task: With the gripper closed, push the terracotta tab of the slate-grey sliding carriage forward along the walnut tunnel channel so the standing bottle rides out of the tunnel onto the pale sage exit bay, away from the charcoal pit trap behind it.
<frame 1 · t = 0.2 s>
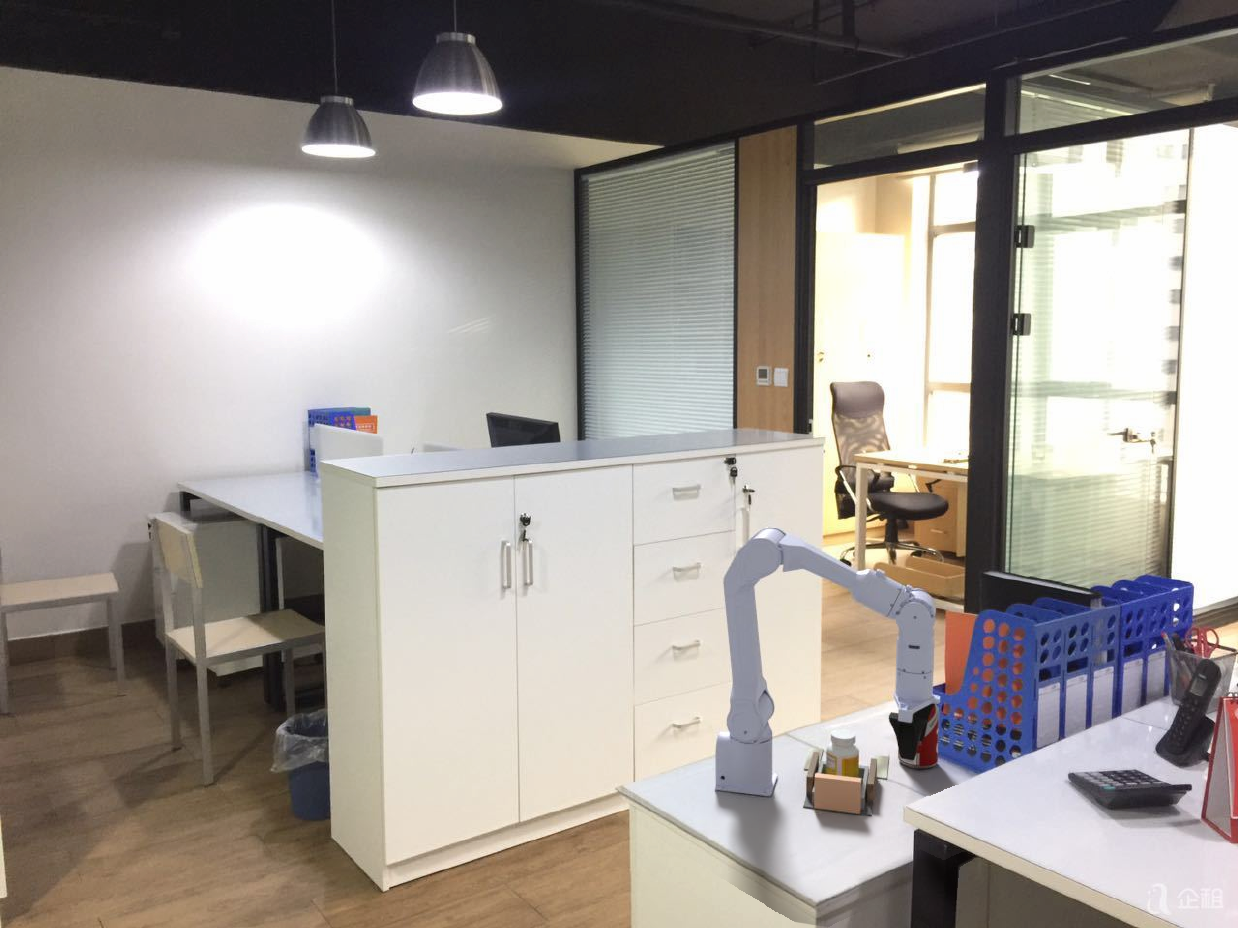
hand: (912, 749, 163), 10 cm above the table, fingers open, 7 cm apart
supplement bottle: (841, 788, 172), resting in carriage
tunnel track: (840, 794, 169), on the table
carriage: (841, 776, 169), point 3 cm above the table, slide at 0.0 cm
soda can: (917, 763, 181), on the table
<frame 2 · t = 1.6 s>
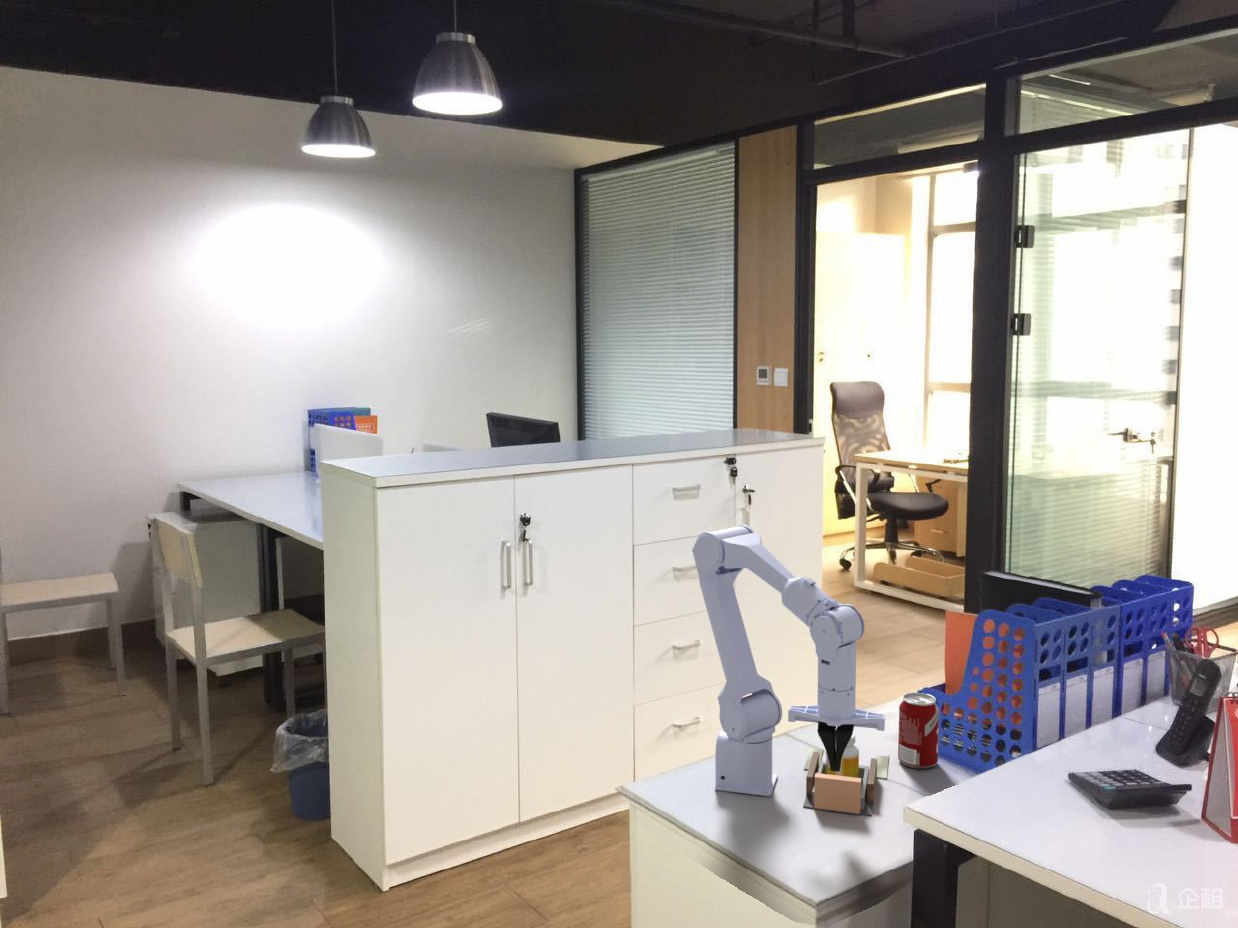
hand: (835, 768, 158), 9 cm above the table, fingers closed
nothing on the table moved.
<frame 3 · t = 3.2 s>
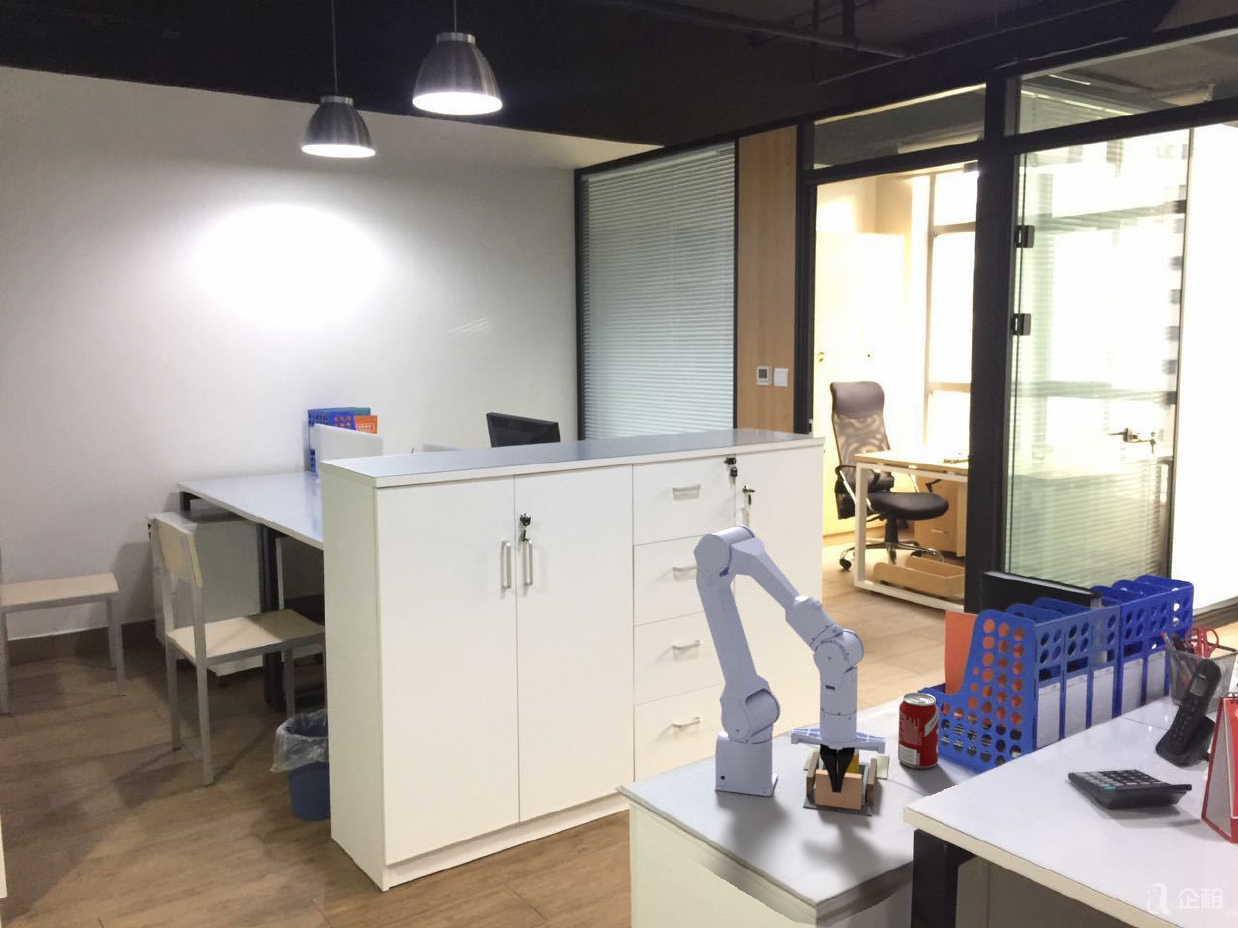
hand: (837, 789, 163), 4 cm above the table, fingers closed, pressing on carriage
supplement bottle: (842, 787, 172), resting in carriage
carriage: (841, 773, 170), point 3 cm above the table, slide at 1.4 cm, touching supplement bottle, gripper
everything else where it was.
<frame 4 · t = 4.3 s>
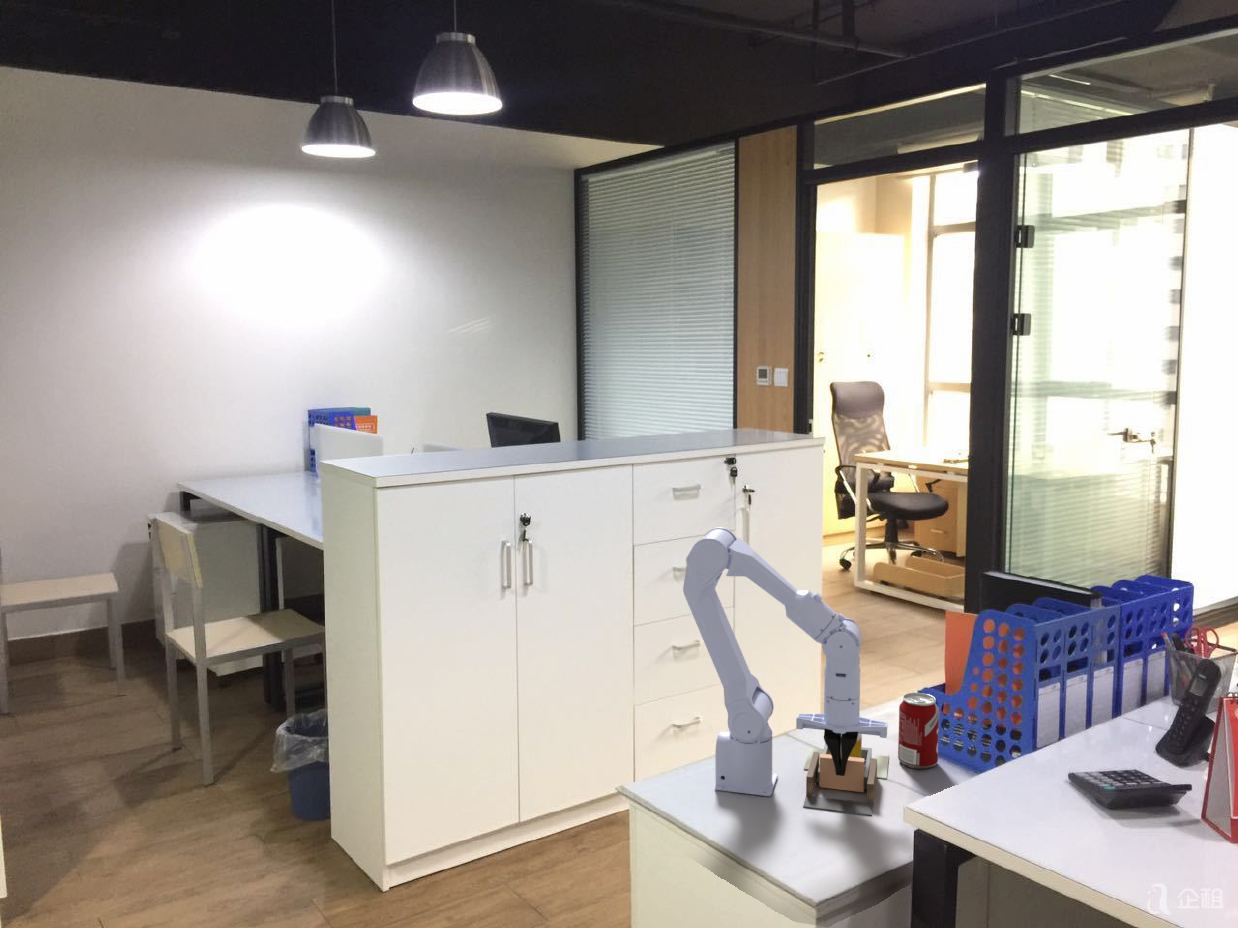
hand: (840, 772, 168), 4 cm above the table, fingers closed, pressing on carriage
supplement bottle: (845, 771, 178), resting in carriage
carriage: (845, 757, 176), point 3 cm above the table, slide at 7.7 cm, touching supplement bottle, gripper
everything else where it was.
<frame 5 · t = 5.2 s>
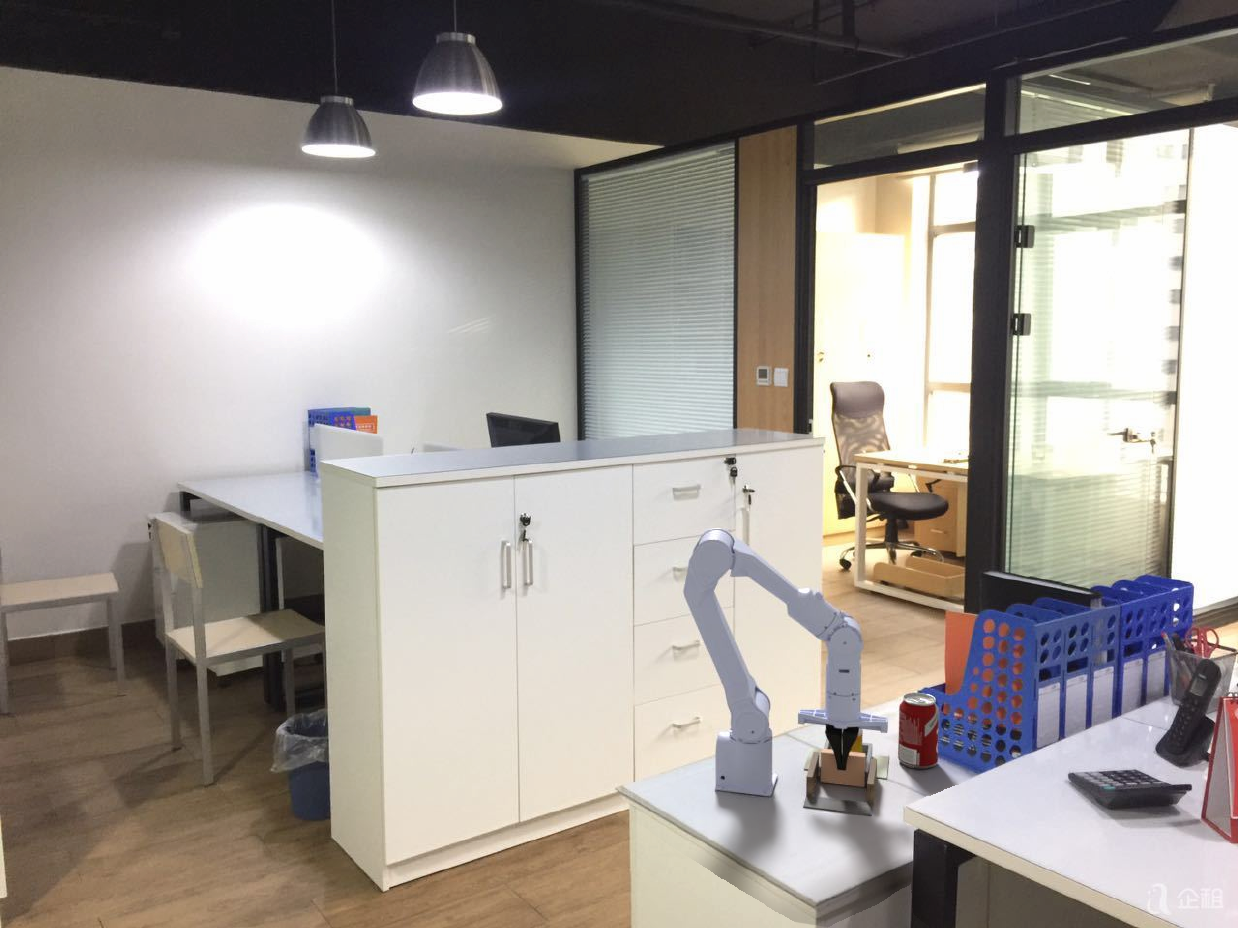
hand: (841, 767, 170), 4 cm above the table, fingers closed, pressing on carriage
supplement bottle: (846, 766, 180), resting in carriage
carriage: (846, 752, 178), point 3 cm above the table, slide at 9.7 cm, touching supplement bottle, gripper
everything else where it was.
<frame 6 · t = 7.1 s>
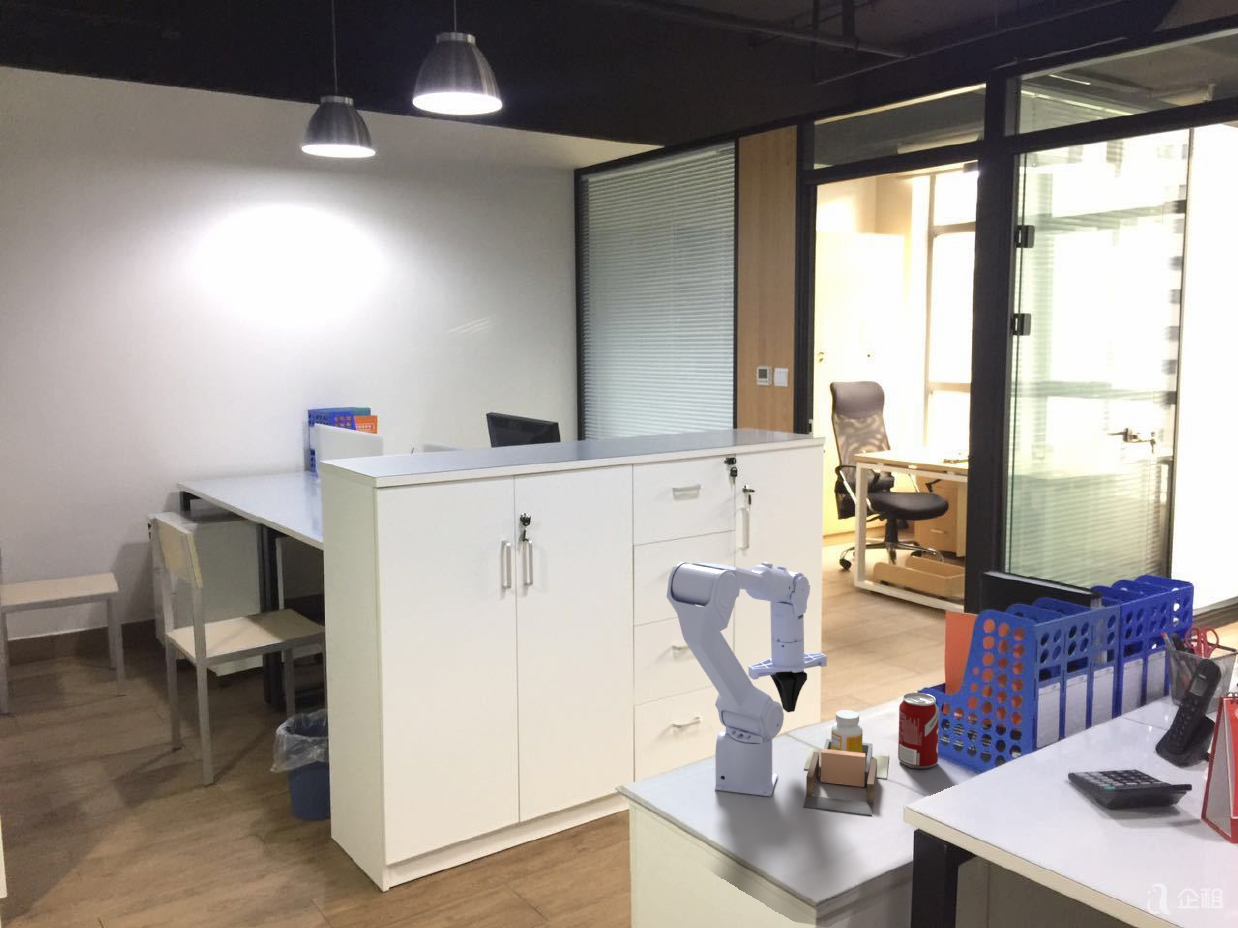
hand: (788, 709, 181), 9 cm above the table, fingers closed
supplement bottle: (846, 766, 180), resting in carriage
carriage: (846, 752, 178), point 3 cm above the table, slide at 9.7 cm
everything else where it was.
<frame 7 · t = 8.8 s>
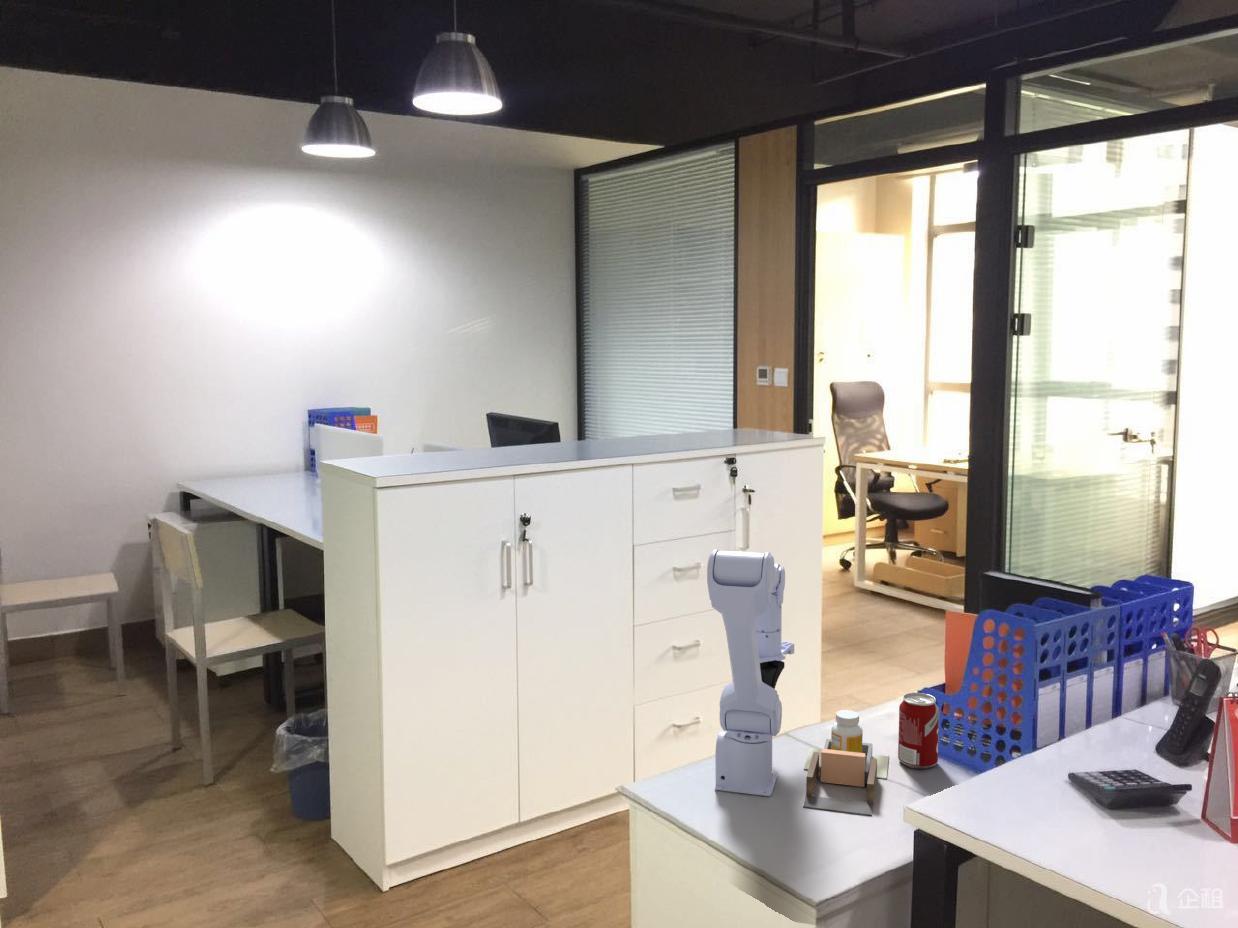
hand: (765, 699, 186), 9 cm above the table, fingers closed
nothing on the table moved.
at the end: carriage slide at 9.7 cm; supplement bottle 0.4 cm from the target spot, resting in carriage; supplement bottle tilted 0° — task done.
